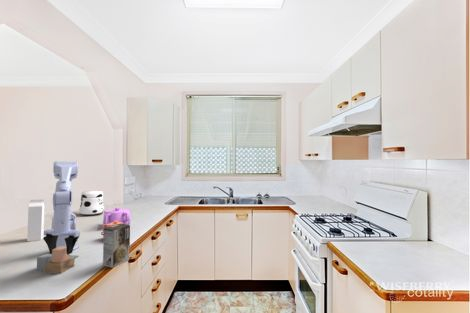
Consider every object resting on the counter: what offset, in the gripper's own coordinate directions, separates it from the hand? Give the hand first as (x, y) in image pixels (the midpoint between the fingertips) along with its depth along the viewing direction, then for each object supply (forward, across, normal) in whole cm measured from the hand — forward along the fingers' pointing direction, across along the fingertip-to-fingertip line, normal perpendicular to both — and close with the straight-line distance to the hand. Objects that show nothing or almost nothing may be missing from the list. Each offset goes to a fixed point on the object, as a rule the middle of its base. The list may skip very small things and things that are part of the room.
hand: (61, 253), depth 101 cm
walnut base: (+6, 0, 0) cm, 6 cm away
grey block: (+6, -6, 0) cm, 9 cm away
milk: (+7, -42, +31) cm, 52 cm away
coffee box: (+7, +19, +9) cm, 22 cm away
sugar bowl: (+7, -1, +39) cm, 39 cm away
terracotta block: (+3, 0, 0) cm, 3 cm away
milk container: (+7, -53, +92) cm, 106 cm away
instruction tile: (+6, -5, +9) cm, 12 cm away
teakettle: (+7, -15, +65) cm, 67 cm away
